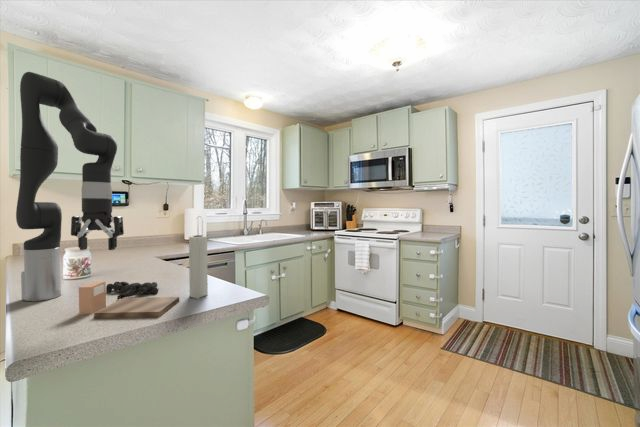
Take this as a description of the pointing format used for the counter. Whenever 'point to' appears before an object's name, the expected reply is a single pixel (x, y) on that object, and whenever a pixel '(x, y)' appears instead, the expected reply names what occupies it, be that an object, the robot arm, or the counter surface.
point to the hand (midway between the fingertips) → (97, 249)
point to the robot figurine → (132, 288)
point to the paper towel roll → (198, 266)
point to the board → (137, 307)
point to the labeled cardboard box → (92, 297)
